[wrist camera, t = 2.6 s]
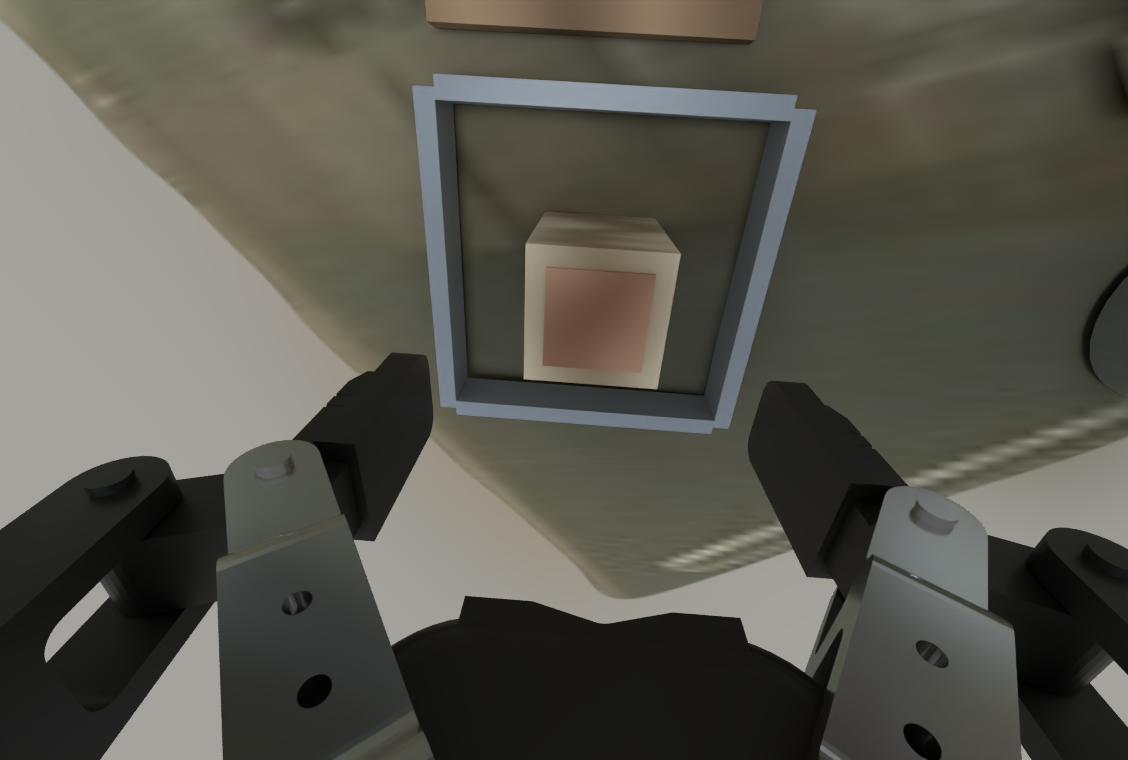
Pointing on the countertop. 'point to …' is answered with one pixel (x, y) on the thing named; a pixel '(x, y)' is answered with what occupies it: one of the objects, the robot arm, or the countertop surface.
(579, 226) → the block
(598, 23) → the board
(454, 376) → the bin
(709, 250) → the countertop surface
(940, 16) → the countertop surface
